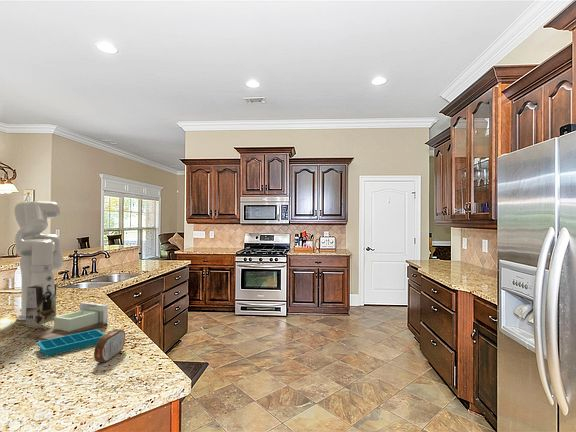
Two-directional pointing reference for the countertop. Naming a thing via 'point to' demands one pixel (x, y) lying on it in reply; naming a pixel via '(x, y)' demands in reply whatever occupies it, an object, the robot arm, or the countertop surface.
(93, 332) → the ice cube tray
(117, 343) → the tin
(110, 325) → the countertop surface
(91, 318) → the pale green open box
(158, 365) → the countertop surface
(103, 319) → the stop wall
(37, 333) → the brown flat board
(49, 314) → the coffee box
